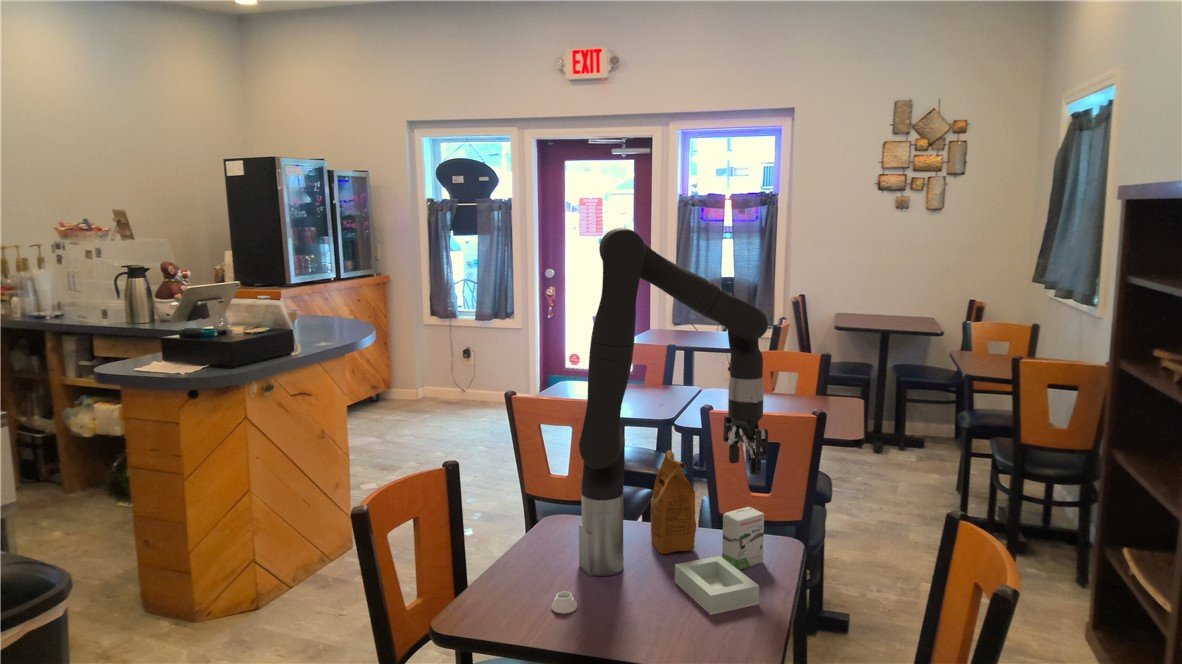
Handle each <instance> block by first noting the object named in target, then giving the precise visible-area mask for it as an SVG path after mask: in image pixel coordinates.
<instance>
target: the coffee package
mask: <svg viewBox="0 0 1182 664" xmlns="http://www.w3.org/2000/svg"><path fill="white" fill-rule="evenodd" d="M686 468H687V466H686V464H685V463H683V462H681V461H677V460H675V453H674V452H673V451H672V450H670V449H669V450H666V452H665V455H664V458H663V460H662V462H661V465H660V468H659V470H658V472H657V475H656V478H655V481H654V488H653V493H652V499H651V505H650V506H651V508H650V519H651V522H650V523H651V524H650V533H651V535H650V538H651V540H652V544H653V546H654V548H655V549H656V550H658V551H659V553H660V554H662V555H668V554H673V553H676V552H688V551H691V550H695V539H696V531H697V522H696V521H697V520H696V491H695V490H694V488H693V486H692V485H691V483H690V482H689V480H688V478H687V476H685V473H684V471H683V470H684V469H686Z"/></svg>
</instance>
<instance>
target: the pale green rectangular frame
mask: <svg viewBox="0 0 1182 664" xmlns="http://www.w3.org/2000/svg"><path fill="white" fill-rule="evenodd" d="M674 583H675V584H676V585H677V586H678V587H680V588H681V590H683V591H684V592H685V593H686V594H687V595H689V597H691V599H692V600H694V601H695V602H696V603H697V604H698V605H699V606H700V607H701V608H702V609H704V611H706V612H707V613H708V614H709V616H712V615H718V614H721V613H725V612H730V611H734V610H739V609H744V608H748V607H754V606H757V605H759V600H760V599H759V598H760V585H759V584H757V583H756V582H755V581H754V580H752V579H751V578H749V576H747V575H745V573H743V572H742V571H741V570H738V569H736V568H735V567H734V566H733V565H731V564H730V563H729V562H727V561H726V560H725V559H723V558H722V556H720V555H717V556H713V557H706V558H701V559H697V560H690V561H686V562H681V563H675V564H674Z"/></svg>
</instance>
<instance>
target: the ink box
mask: <svg viewBox="0 0 1182 664" xmlns="http://www.w3.org/2000/svg"><path fill="white" fill-rule="evenodd" d="M764 529H765V513H764V512H762V511H759V510H758V509H755V508H753V507H751V506H746V507H743V508H739V509H735V510H731V511H727V512H724V513H723V514H722V556H721V557H722V558H723V559H725V560H726V561H727V562H729V563H730V564H731V565H733V566H734V567H735V568H736V569H738V570H739V571H741V570H743V569H747V568H750V567H753V565H754V566H757V565H758V564H759V563H760V564H762V562H763V563H764V542H765V541H764V537H765V536H764V534H765V530H764ZM756 564H757V565H756Z"/></svg>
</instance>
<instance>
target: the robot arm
mask: <svg viewBox="0 0 1182 664" xmlns="http://www.w3.org/2000/svg"><path fill="white" fill-rule="evenodd" d="M598 249H599V250H598V251H599V255H600V259H601V260H602V284H601V285H602V287H601V288H602V289H601V296H600V301H599V305H598V308H597V311H596V315H595V319H594V321H593V327H592V332H591V335H590V336H591V337H590V345H589V346H590V347H589V356H588V357H589V358H588V369H587V401H586V408H585V409H586V410H585V415H584V420H583V424H582V428H581V433H580V436H579V437H580V438H579V442H578V451H579V455H580V457H581V459H582V461H583V468H582V469H583V470H582V477H581V485H580V486H581V489H580V490H581V492H580V493H581V524H579V525H578V565H579V566H580V568H581V569H582V570H583V571H584V572H585V573H586V575H587V576H598V577H604V576H606V577H607V576H613V575H616V574H618V573H620V572H622V571H623V569H624V482H625V461H626V460H625V456H626V455H625V447H626V446H625V445H626V444H625V441H626V440H625V436H624V432H623V430H622V428H621V412H622V404H623V400H624V397H625V394H626V391H627V387H628V384H629V378H630V374H631V369H632V363H633V357H634V356H633V355H634V347H635V337H636V335H635V334H636V321H637V318H636V316H637V297H638V289H639V285H640V281H641V279H642V280H643V281H646V282H647V283H650V284H652V285H653V286H654V287H656V288H658V289H659V290H661V291H663V292H664V293H666V294H667V295H669V296H670V297H672V298H673V299H675V300H677V301H678V302H679V303H681V304H683V306H685V307H687V308H689V309H691V310H692V311H694V312H696V313H697V314H700V315H701V316H702V317H705V318H706V319H709V320H712V321H714V322H716V323H718V324H720V325H721V326H723V327H724V328H726V329H727V337H728V344H729V347H728V348H729V351H730V362H729V363H730V364H729V382H728V397H727V398H728V402H727V405H728V407H727V408H728V409H727V413H728V414H727V416H726V415H725V416H724V418H723V432H722V433H723V435H722V437H723V442H724V443H727V447H728V463H731V464H737V463H739V461H740V446H739V445H740V444H741V443H742V444H744V446H745V449H747V450H748V452H749V455H750V461H749V463H750V465H749V469H750V470H749V471H750V472H749V473H750V474H751V475H752V476H755V475H760V474H761V472H762V458H764V457H765V458H766V457H769V430H768V429H767V428H760V425H759V422H760V420H762V419H763V418H764V392H765V391H764V390H765V389H764V388H765V387H764V377H763V376H764V374H763V373H764V356H763V354H762V352H761V350H760V348H759V345H760V344H759V339H760V338H762V337H764V335H765V334H766V333H767V330H768V327H769V325H768V324H769V322H768V318H767V316H766V314H765V313H764V312H763V311H762V310H761V309H760V308H758V307H756V306H754V305H752V304H750V303H748V302H746V301H745V300H742V299H740V298H739V297H736V296H734V295H732V294H730V293H729V292H727V291H726V290H725V289H723V288H722V287H720V286H718V285H717V284H715V283H713V282H711V281H710V280H708V279H706V278H704V277H702V276H701V275H698V274H697V273H695V272H693V271H690V270H688V269H686V268H684V267H683V266H680V265H678V264H676V263H674V262H673V261H671V260H669V259H668V258H665V257H664V256H662V255H660V254H659V253H658V252H656V251H655V250H653V249H652V248H651V247H649V246H648V245H647V243H645V241H644V239H643V238H642V236H641V235H640V234H639V233H638V232H637V231H635V230H632V229H630V228H627V227H626V228H625V227H616V228H614V229H611V230H609V231H607V233H605V234H604V235H603V237H602V238H601V239H600V243H599V248H598ZM729 432H730V434H729Z"/></svg>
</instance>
